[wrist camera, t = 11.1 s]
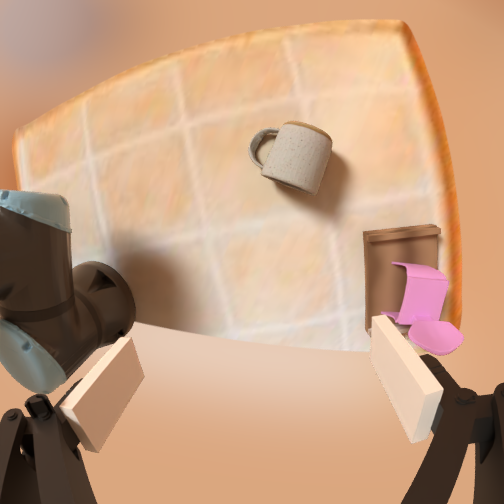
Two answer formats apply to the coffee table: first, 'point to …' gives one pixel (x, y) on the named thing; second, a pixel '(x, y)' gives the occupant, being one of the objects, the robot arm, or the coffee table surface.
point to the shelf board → (394, 266)
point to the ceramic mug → (295, 156)
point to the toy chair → (426, 310)
